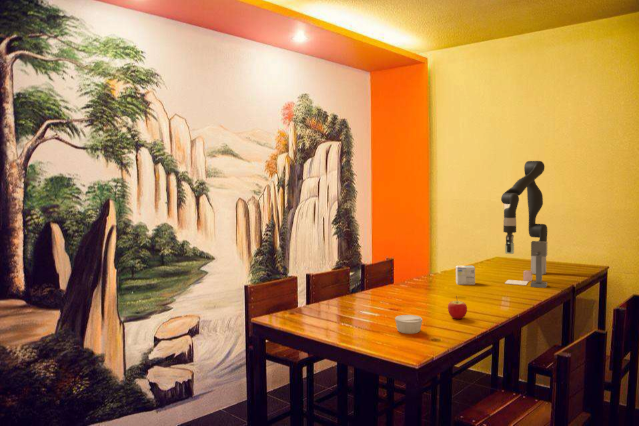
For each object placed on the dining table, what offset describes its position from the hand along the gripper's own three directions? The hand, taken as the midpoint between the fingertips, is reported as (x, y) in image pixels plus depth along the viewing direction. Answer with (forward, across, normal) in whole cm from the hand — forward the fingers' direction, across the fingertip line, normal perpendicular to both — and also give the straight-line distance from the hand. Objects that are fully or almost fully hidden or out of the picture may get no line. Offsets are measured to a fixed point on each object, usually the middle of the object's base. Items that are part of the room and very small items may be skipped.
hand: (509, 251), depth 316 cm
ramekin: (+18, -135, +18) cm, 138 cm away
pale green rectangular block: (+1, 0, 0) cm, 1 cm away
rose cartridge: (+17, 0, -11) cm, 20 cm away
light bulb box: (+18, -26, +21) cm, 38 cm away
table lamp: (+17, -15, -19) cm, 30 cm away
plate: (+17, -10, -6) cm, 21 cm away
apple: (+18, -107, +5) cm, 109 cm away
